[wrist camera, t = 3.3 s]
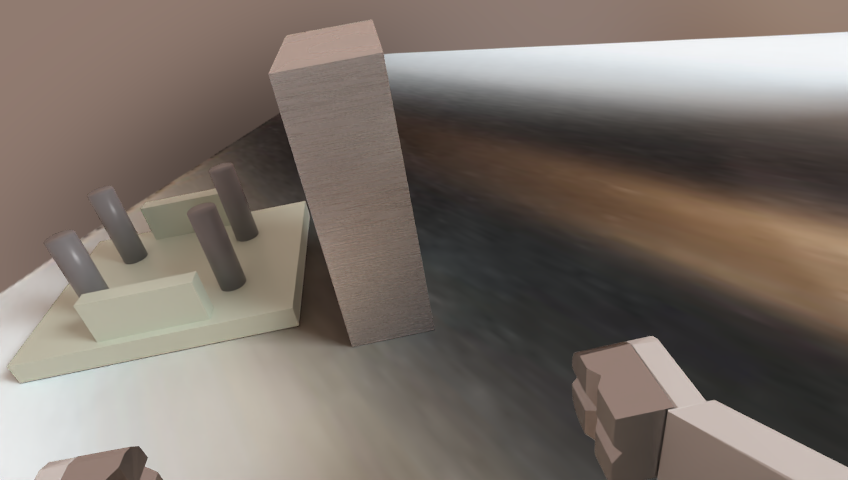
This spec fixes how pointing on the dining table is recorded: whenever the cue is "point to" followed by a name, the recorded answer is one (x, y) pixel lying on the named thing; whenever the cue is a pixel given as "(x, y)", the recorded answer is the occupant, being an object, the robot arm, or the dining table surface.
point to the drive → (354, 177)
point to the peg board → (170, 279)
